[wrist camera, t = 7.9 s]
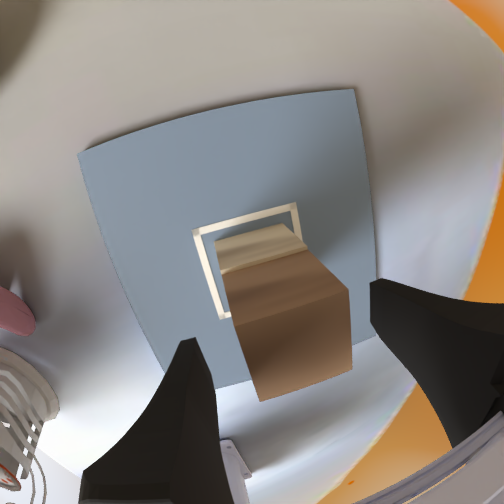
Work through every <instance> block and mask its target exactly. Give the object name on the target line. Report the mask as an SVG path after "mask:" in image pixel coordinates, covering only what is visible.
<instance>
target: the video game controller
mask: <svg viewBox="0 0 504 504" xmlns="http://www.w3.org/2000/svg"><path fill="white" fill-rule="evenodd" d="M0 327H1V328H3V329H6V330H8V331H10V332H13V333H15V334H17V335H20V336H29V335H31V334H32V333H33V332H34V330H35V327H36V325H35V318H34V316H33V314H32V312H31V310H30V309H29V307H28V306H27V305H26V304H25V303H24V302H23V301H22V300H21V299H20V298H19V297H18V296H17V295H15V294H14V293H12V292H10V291H9V290H7V289H5V288H3V287H1V286H0Z"/></svg>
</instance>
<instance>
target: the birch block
mask: <svg viewBox="0 0 504 504" xmlns="http://www.w3.org/2000/svg"><path fill="white" fill-rule="evenodd" d="M214 245H215V250H216V254H217V259H218V263H219V267H220V272H221V275H223V274H226V273H229V272H233V271H236V270H240V269H243V268H247V267H250V266H253V265H257V264H260V263H264V262H267V261H270V260H274V259H277V258H281V257H284V256H287V255H291V254H294V253H297V252H301V251H304V250H307V249H308V248H307V245H306V244H305V243H304V242H303V241H301V240H300V239H299V238H298V237H297V236H296V235H295V234H294V233H293V232H292V231H291V230H289V229H288V228H287V227H286V226H285V225H284V224H283V223H280V224H276V225H273V226H269V227H265V228H261V229H258V230H254V231H250V232H247V233H243V234H240V235H236V236H232V237H229V238H225V239H221V240H218V241H214Z"/></svg>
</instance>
